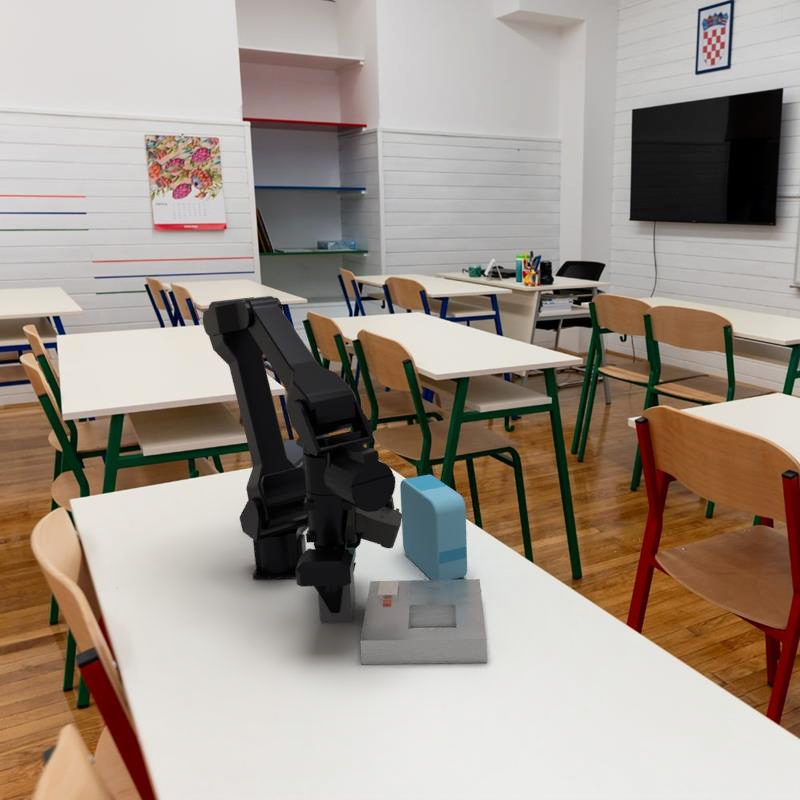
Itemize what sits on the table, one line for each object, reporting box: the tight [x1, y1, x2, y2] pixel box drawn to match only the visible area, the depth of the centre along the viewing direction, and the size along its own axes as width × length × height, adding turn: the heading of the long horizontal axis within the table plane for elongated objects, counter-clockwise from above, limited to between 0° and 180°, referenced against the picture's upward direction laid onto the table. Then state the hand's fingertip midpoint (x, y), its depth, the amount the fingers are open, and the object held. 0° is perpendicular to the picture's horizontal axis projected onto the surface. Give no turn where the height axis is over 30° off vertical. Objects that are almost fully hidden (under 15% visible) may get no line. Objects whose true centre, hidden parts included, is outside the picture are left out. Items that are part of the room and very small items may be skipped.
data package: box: [399, 474, 468, 580], centre depth 108 cm, size 12×4×12 cm, turn 23°
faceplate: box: [359, 578, 488, 665], centre depth 93 cm, size 14×14×4 cm
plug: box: [317, 548, 357, 624], centre depth 97 cm, size 5×5×8 cm
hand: (337, 603), depth 97 cm, fingers closed on plug, 4 cm apart
